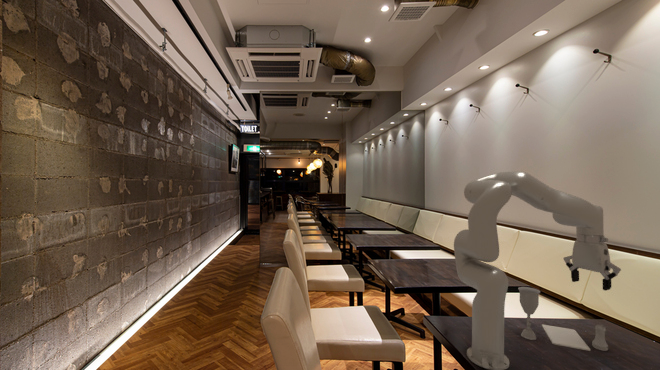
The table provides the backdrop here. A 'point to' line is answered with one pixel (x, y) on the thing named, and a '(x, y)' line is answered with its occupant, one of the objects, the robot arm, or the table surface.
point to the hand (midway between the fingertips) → (590, 285)
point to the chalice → (529, 308)
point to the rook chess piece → (600, 338)
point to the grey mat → (565, 337)
